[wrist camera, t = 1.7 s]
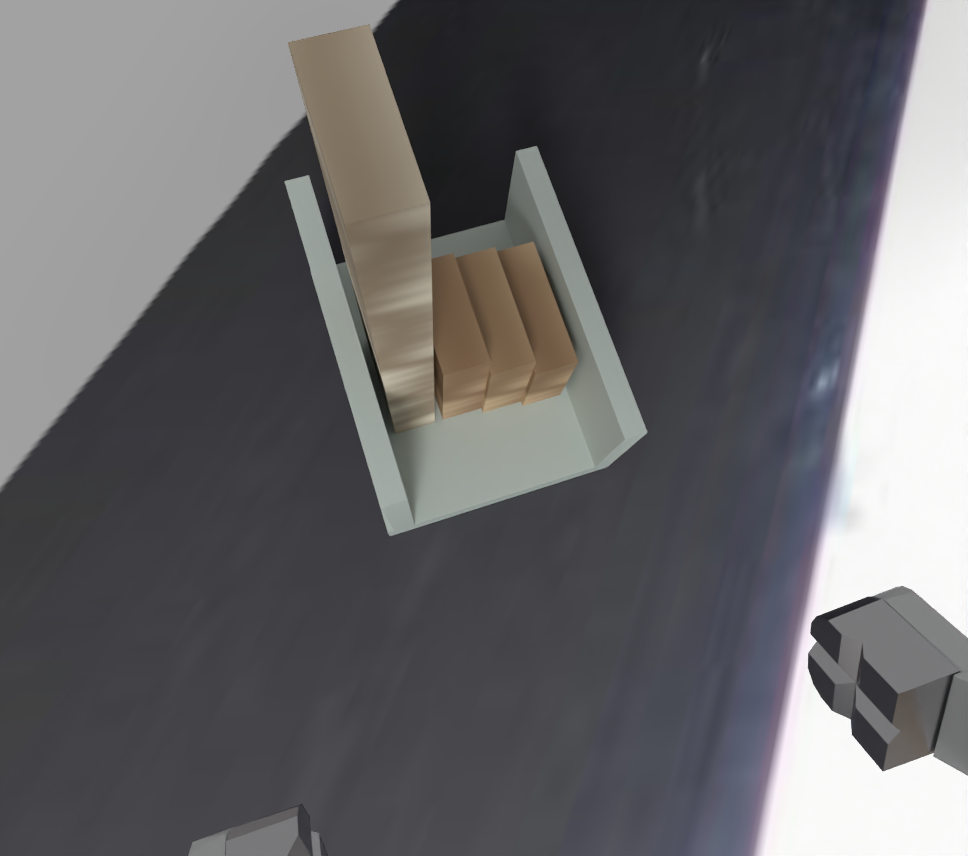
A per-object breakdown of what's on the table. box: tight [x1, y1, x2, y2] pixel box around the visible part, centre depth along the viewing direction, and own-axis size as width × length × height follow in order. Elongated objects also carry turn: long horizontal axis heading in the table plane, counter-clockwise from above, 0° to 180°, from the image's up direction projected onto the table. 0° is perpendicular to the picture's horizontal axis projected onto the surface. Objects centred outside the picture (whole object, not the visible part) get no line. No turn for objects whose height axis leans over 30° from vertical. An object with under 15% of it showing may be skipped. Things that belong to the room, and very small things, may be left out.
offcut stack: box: [431, 241, 578, 420], centre depth 34 cm, size 6×6×7 cm
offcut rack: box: [285, 146, 647, 536], centre depth 34 cm, size 12×14×10 cm
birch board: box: [288, 25, 435, 434], centre depth 27 cm, size 2×5×20 cm, turn 18°
